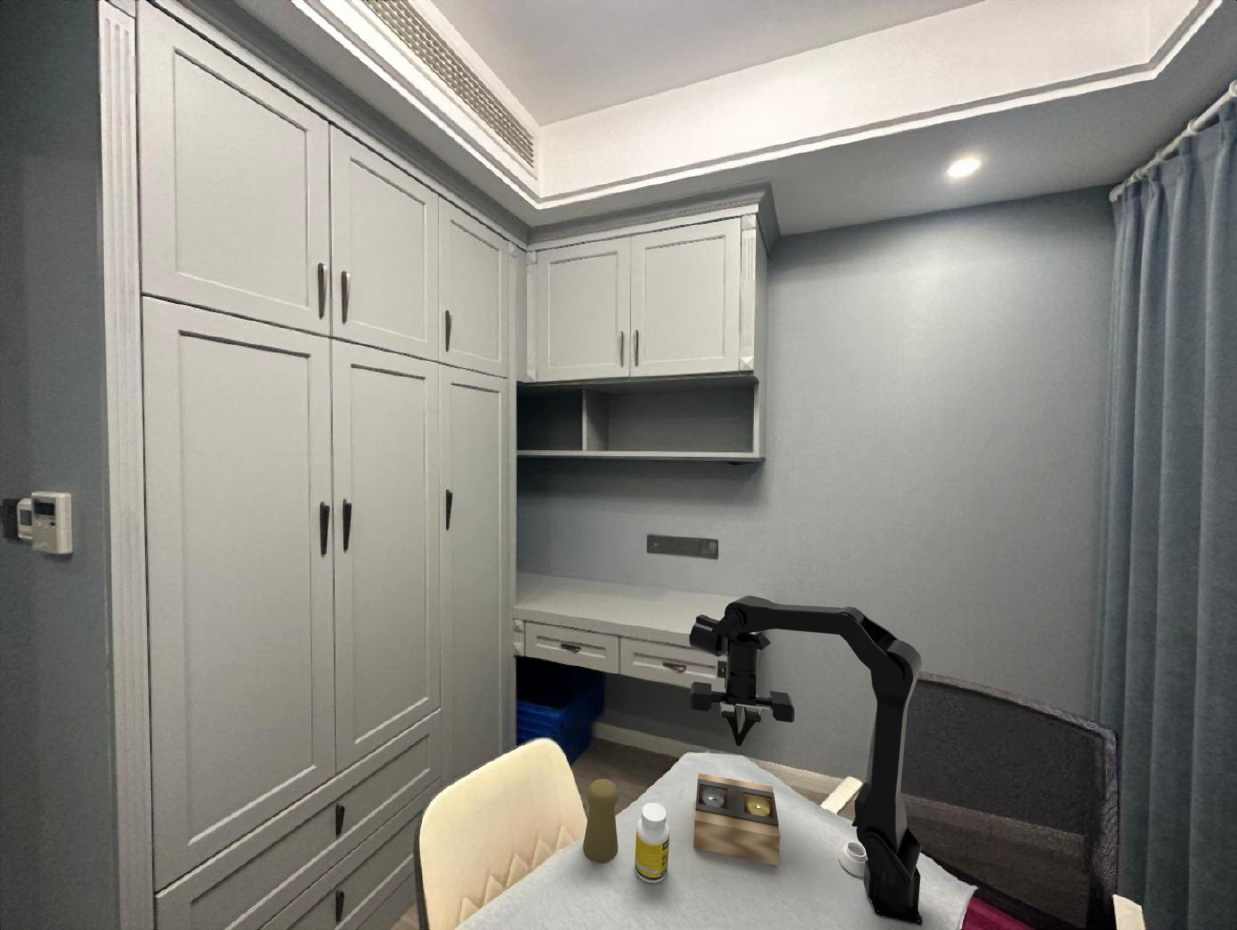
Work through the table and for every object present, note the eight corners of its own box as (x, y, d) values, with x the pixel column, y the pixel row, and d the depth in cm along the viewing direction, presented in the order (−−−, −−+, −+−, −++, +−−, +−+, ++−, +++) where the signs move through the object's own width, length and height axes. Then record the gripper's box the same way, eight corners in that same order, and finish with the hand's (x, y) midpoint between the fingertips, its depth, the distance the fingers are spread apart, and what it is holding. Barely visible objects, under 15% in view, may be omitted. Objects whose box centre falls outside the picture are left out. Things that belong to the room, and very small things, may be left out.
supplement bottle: (665, 888, 74) (668, 828, 74) (631, 881, 75) (634, 821, 75) (669, 859, 80) (672, 802, 79) (637, 852, 81) (639, 796, 80)
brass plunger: (767, 824, 87) (769, 799, 87) (769, 842, 83) (771, 816, 83) (745, 820, 88) (746, 795, 88) (746, 837, 84) (747, 811, 84)
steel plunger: (723, 815, 89) (724, 791, 88) (723, 832, 85) (724, 807, 85) (701, 811, 90) (702, 786, 89) (700, 828, 86) (701, 802, 85)
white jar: (879, 875, 78) (855, 850, 83) (880, 858, 78) (856, 833, 83) (854, 882, 77) (832, 856, 82) (856, 865, 77) (833, 840, 81)
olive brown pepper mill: (586, 830, 85) (589, 770, 84) (620, 835, 84) (623, 775, 83) (579, 860, 79) (581, 795, 78) (615, 865, 78) (618, 801, 77)
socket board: (771, 811, 91) (772, 784, 90) (778, 866, 79) (780, 834, 79) (696, 797, 94) (698, 771, 93) (693, 847, 82) (694, 817, 82)
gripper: (786, 652, 96) (782, 727, 97) (693, 641, 99) (690, 714, 100) (797, 678, 85) (792, 762, 86) (691, 666, 89) (688, 747, 89)
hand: (738, 744), depth 91 cm, fingers closed
